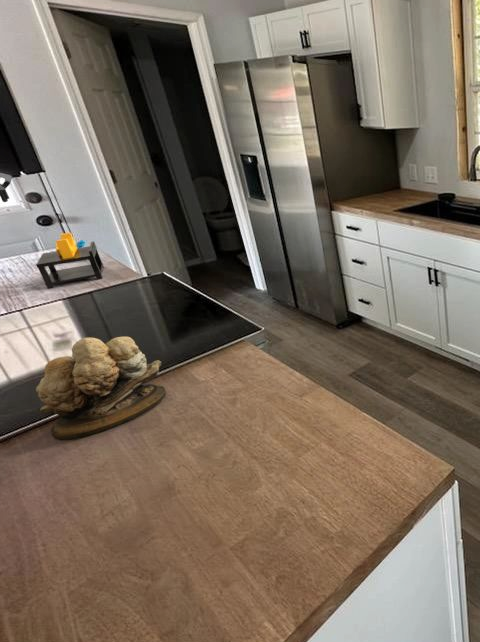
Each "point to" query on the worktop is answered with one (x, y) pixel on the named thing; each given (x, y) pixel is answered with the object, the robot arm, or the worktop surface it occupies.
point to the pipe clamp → (66, 246)
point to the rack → (70, 273)
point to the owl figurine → (98, 387)
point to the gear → (81, 244)
